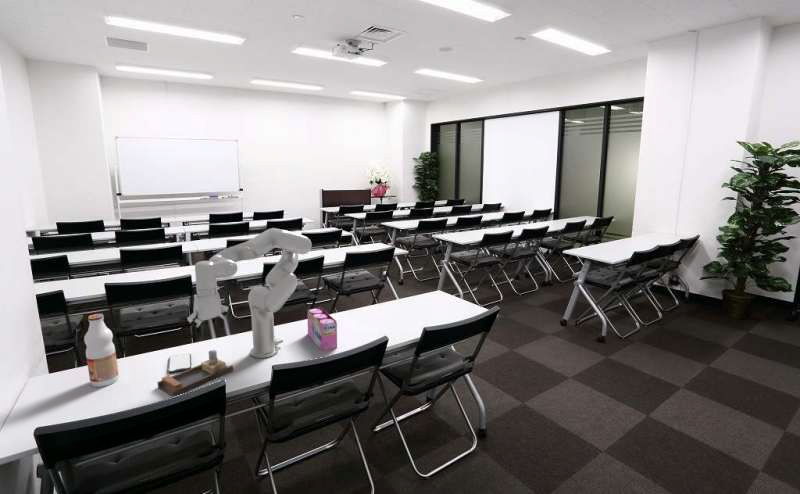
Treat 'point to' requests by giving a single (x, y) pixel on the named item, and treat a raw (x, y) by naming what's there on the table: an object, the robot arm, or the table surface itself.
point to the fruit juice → (100, 353)
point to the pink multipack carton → (322, 328)
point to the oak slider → (213, 363)
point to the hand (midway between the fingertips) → (209, 331)
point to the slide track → (189, 380)
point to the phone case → (179, 363)
